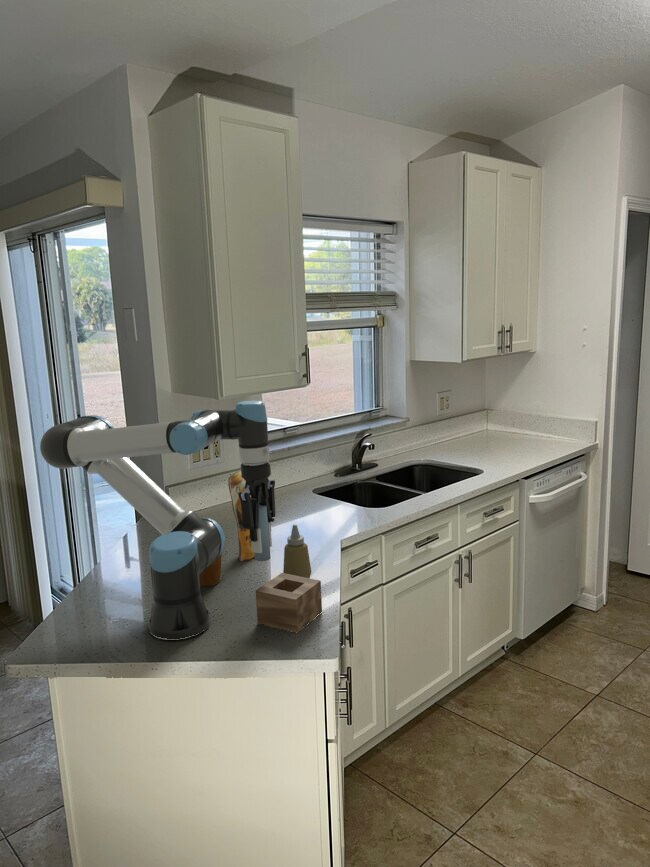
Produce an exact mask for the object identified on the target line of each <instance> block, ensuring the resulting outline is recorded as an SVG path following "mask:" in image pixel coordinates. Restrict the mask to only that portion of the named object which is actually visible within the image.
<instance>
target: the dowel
mask: <svg viewBox="0 0 650 867" xmlns="http://www.w3.org/2000/svg"><path fill="white" fill-rule="evenodd" d="M258 528H260V530H261V543H262V553H255V557H254V558H255V561H257V562H266V561H269V560H270V559H271V547H270V545H269V532H268V519H267V506H266V505H259V517H258Z"/></svg>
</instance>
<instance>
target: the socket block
mask: <svg viewBox="0 0 650 867" xmlns="http://www.w3.org/2000/svg"><path fill="white" fill-rule="evenodd" d="M321 581H322V580H319V579H314V578H311V577H310V578H305V577H300V576H295V575H290V574H285V573H283V572H281V573H279V574H278V575H276V576H275V577H273V578H272V579H271V580H269V581H267V582H266V583H265V584H263V585H262V586H260V587H258V588H257V589H255V603H256V617H257V618H256V620H257V621H256V622H257V624H258V623H259V624H258V625H262V624H264V625H263V626H266V625H267V626H266V627H270V626H272V627H271V628H274V627H277V628H280V629H279V630H281V629H284V630H283V631H285V630H288V631H287V632H289V631H292V632H291V633H293V632H297V633H298V632H299V631H300V630H301V629H302V628H303V627H305V626H306V625H307V624H308V623H310V622H311V621H312V620H313V619H314V618H315V617H316V616H317V615H318V614H320V613H321V612H322V613H323V605H322V604H323V603H322V602H323V601H322V582H321ZM320 615H321V614H320ZM314 620H315V619H314ZM314 620H313V621H314ZM313 621H312V622H313ZM312 622H311V623H312ZM308 625H309V624H308ZM308 625H307V626H308ZM307 626H306V627H307ZM306 627H305V628H306ZM277 628H276V629H277ZM302 630H303V629H302ZM302 630H301V631H302ZM301 631H300V632H301ZM300 632H299V633H300ZM297 633H296V634H297ZM299 633H298V634H299Z"/></svg>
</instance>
